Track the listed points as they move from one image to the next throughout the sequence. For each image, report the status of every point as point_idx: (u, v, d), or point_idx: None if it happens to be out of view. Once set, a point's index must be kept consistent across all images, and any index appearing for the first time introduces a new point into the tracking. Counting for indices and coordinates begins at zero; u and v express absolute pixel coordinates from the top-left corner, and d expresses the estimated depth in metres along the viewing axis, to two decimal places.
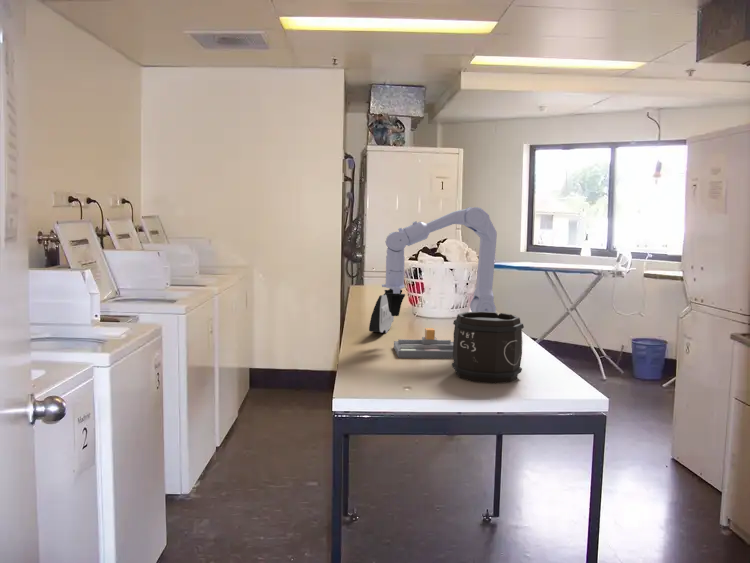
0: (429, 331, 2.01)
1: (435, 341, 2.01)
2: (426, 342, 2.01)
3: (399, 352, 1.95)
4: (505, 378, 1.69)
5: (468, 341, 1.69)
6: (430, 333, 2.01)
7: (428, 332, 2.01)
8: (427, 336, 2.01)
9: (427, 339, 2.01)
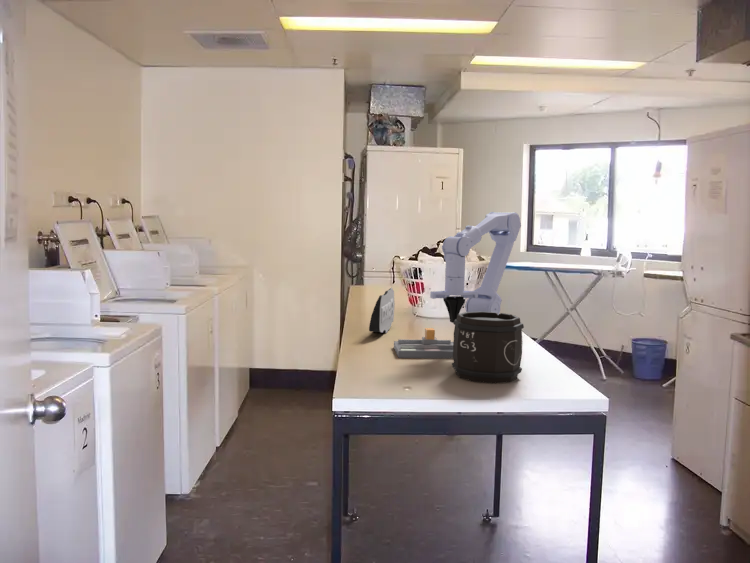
0: (429, 331, 2.01)
1: (435, 341, 2.01)
2: (426, 342, 2.01)
3: (399, 352, 1.95)
4: (505, 378, 1.69)
5: (468, 341, 1.69)
6: (430, 333, 2.01)
7: (428, 332, 2.01)
8: (427, 336, 2.01)
9: (427, 339, 2.01)
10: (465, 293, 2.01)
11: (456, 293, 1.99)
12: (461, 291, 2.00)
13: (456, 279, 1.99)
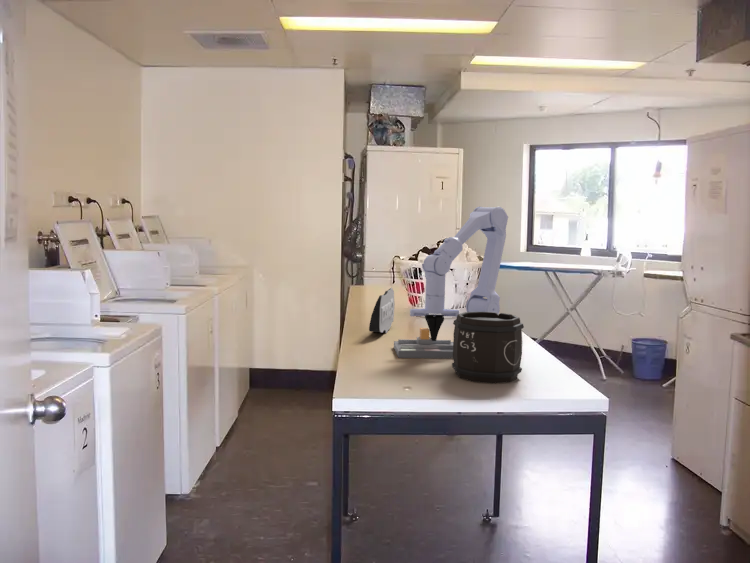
0: (424, 331, 2.01)
1: (430, 341, 2.01)
2: (421, 342, 2.01)
3: (399, 352, 1.95)
4: (505, 378, 1.69)
5: (468, 341, 1.69)
6: (425, 333, 2.01)
7: (423, 332, 2.01)
8: (422, 336, 2.01)
9: (422, 339, 2.01)
10: (444, 312, 2.00)
11: (434, 311, 1.99)
12: (440, 310, 2.00)
13: (434, 297, 1.99)
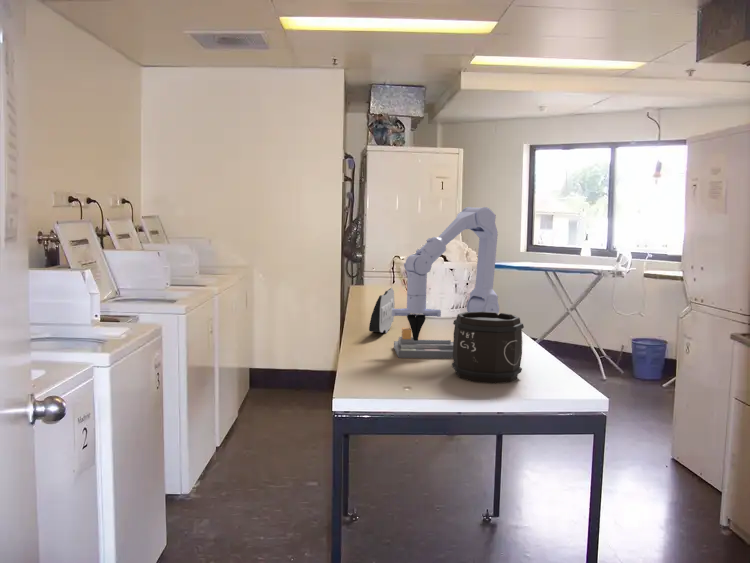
0: (405, 331, 2.01)
1: (411, 341, 2.01)
2: (402, 342, 2.00)
3: (399, 352, 1.95)
4: (505, 378, 1.69)
5: (468, 341, 1.69)
6: (406, 333, 2.01)
7: (404, 332, 2.01)
8: (403, 336, 2.01)
9: (403, 339, 2.01)
10: (425, 311, 2.00)
11: (415, 311, 1.99)
12: (421, 309, 1.99)
13: (415, 297, 1.99)
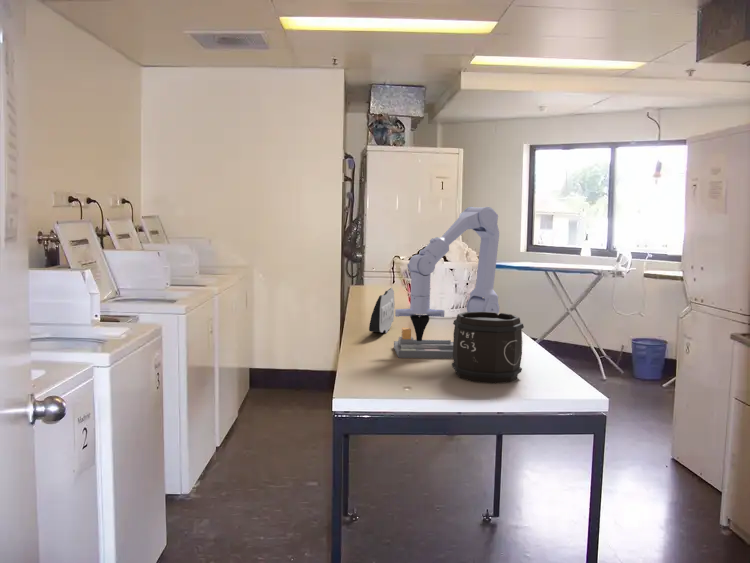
0: (405, 331, 2.01)
1: (411, 341, 2.01)
2: (402, 342, 2.00)
3: (399, 352, 1.95)
4: (505, 378, 1.69)
5: (468, 341, 1.69)
6: (406, 333, 2.01)
7: (404, 332, 2.01)
8: (403, 336, 2.01)
9: (403, 339, 2.01)
10: (429, 312, 2.00)
11: (419, 312, 1.99)
12: (424, 310, 2.00)
13: (419, 298, 1.99)
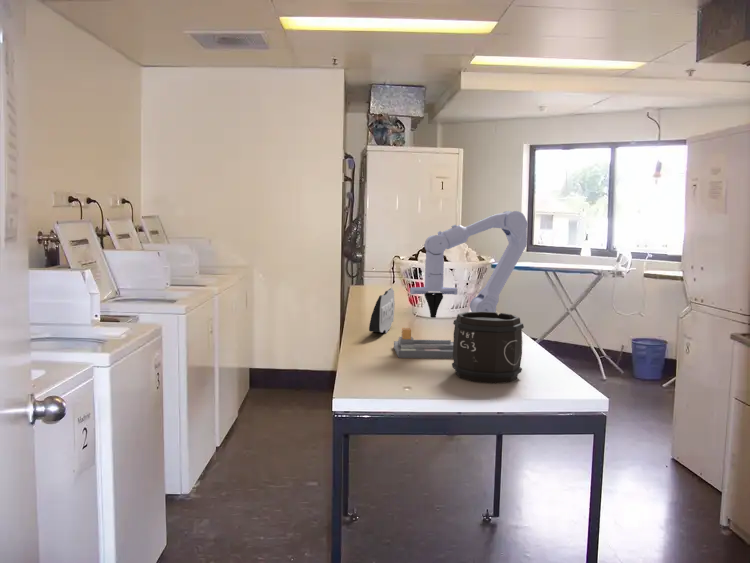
0: (405, 331, 2.01)
1: (411, 341, 2.01)
2: (402, 342, 2.00)
3: (399, 352, 1.95)
4: (505, 378, 1.69)
5: (468, 341, 1.69)
6: (406, 333, 2.01)
7: (404, 332, 2.01)
8: (403, 336, 2.01)
9: (403, 339, 2.01)
10: (443, 289, 2.09)
11: (433, 289, 2.08)
12: (439, 287, 2.09)
13: (433, 276, 2.08)
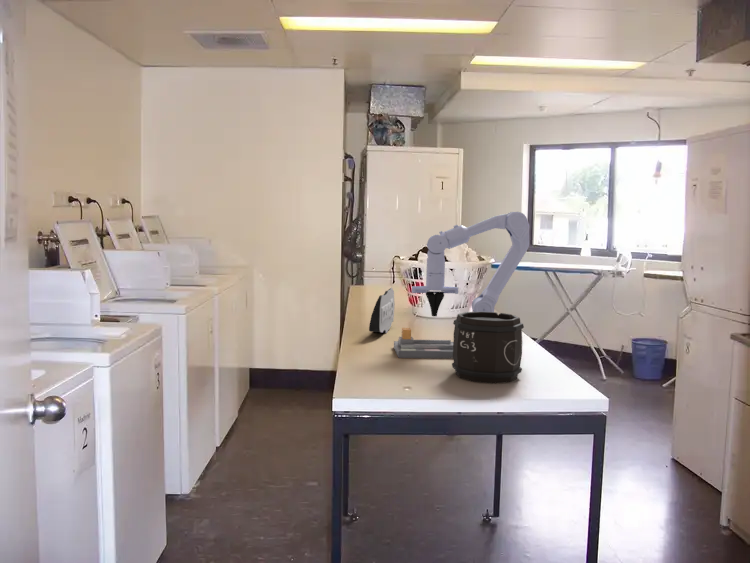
0: (405, 331, 2.01)
1: (411, 341, 2.01)
2: (402, 342, 2.00)
3: (399, 352, 1.95)
4: (505, 378, 1.69)
5: (468, 341, 1.69)
6: (406, 333, 2.01)
7: (404, 332, 2.01)
8: (403, 336, 2.01)
9: (403, 339, 2.01)
10: (444, 288, 2.12)
11: (434, 288, 2.11)
12: (440, 286, 2.11)
13: (434, 275, 2.11)
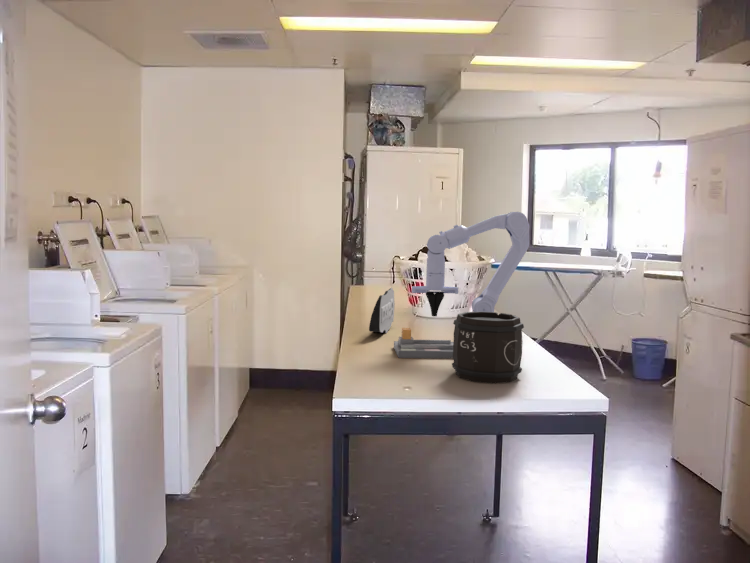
0: (405, 331, 2.01)
1: (411, 341, 2.01)
2: (402, 342, 2.00)
3: (399, 352, 1.95)
4: (505, 378, 1.69)
5: (468, 341, 1.69)
6: (406, 333, 2.01)
7: (404, 332, 2.01)
8: (403, 336, 2.01)
9: (403, 339, 2.01)
10: (444, 288, 2.12)
11: (434, 288, 2.11)
12: (440, 286, 2.11)
13: (434, 275, 2.11)
